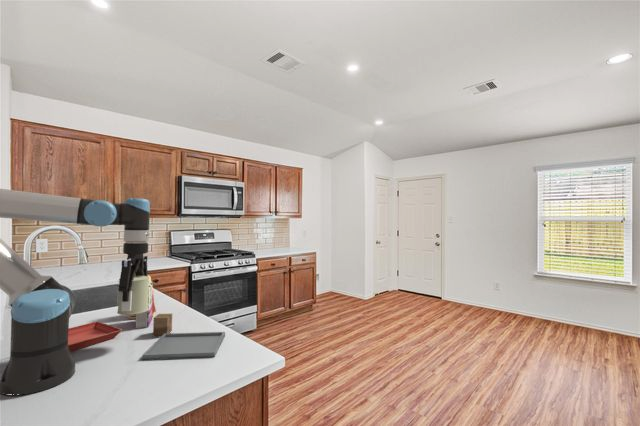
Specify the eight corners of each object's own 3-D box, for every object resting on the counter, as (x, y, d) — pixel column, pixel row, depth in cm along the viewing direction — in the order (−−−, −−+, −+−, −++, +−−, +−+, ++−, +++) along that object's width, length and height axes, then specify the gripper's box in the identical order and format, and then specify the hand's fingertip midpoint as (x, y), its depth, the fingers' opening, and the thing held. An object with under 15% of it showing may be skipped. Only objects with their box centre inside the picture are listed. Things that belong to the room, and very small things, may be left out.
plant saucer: (96, 328, 122) (96, 320, 122) (122, 337, 114) (123, 328, 114) (38, 345, 106) (39, 335, 106) (64, 356, 98) (64, 346, 98)
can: (153, 308, 110) (155, 275, 111) (136, 315, 101) (137, 279, 102) (130, 306, 111) (131, 273, 112) (110, 314, 102) (112, 278, 103)
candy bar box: (139, 320, 132) (140, 282, 132) (152, 319, 134) (153, 281, 134) (134, 329, 121) (135, 288, 122) (148, 327, 123) (149, 287, 123)
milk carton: (134, 313, 141) (135, 270, 141) (156, 312, 143) (157, 269, 144) (128, 320, 132) (129, 273, 132) (151, 318, 135) (153, 273, 135)
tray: (214, 357, 98) (214, 352, 98) (142, 359, 95) (142, 355, 95) (225, 335, 116) (225, 331, 116) (164, 337, 113) (164, 333, 113)
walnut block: (167, 336, 115) (167, 317, 115) (153, 336, 114) (153, 317, 114) (171, 331, 120) (172, 313, 120) (158, 331, 119) (158, 313, 119)
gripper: (132, 244, 97) (129, 316, 96) (159, 240, 118) (157, 298, 118) (107, 244, 96) (103, 316, 95) (139, 240, 117) (136, 298, 117)
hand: (133, 306), depth 106 cm, fingers closed on can, 9 cm apart
